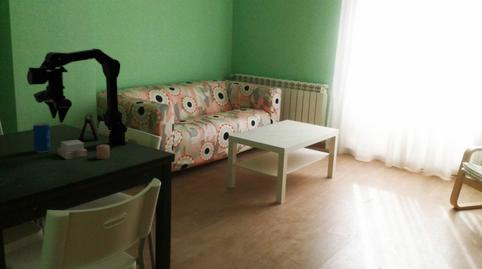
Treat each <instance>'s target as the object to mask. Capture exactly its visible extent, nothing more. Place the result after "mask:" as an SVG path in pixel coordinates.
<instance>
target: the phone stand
mask: <svg viewBox="0 0 482 269" xmlns="http://www.w3.org/2000/svg"><path fill="white" fill-rule="evenodd" d="M88 117H89V118H88ZM88 124H89V126H90V129H91V132H92V136H85V133H86V131H87V126H88ZM99 139H100V135H99V133H98V130H97V128H96V125H95V123H94V121H93V114H92V113H90V114H89V113H86V115H85V116H84V124H83V127H82V130H81V132H80V135H79V137H78V140H79V141H81V142H82V141H86V142H88V141H89V142H91V141H94V142H95V141H99Z"/></svg>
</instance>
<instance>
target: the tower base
mask: <svg viewBox="0 0 482 269" xmlns="http://www.w3.org/2000/svg"><path fill="white" fill-rule="evenodd" d="M56 149H57V155H58V156H60V157H61V158H64V159H65V160H70V159H77V158H83V157H88V150H87V149H86V148H84V150H80V151H73V152H66V151H65V150H63V149H61V147H58V148H56Z"/></svg>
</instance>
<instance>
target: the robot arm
mask: <svg viewBox="0 0 482 269" xmlns="http://www.w3.org/2000/svg"><path fill="white" fill-rule="evenodd" d="M44 56H45V57H44V60H43V61H42V63H41V64H40V66H39V67H32V66H30V67H28V71H27V74H26V80H27V81H26V82H27V83H28V84H29V85H30V86H33V85H37V86H38V85H46V83H47V85H46V86H45V89H44V90H41V91H38V92H36V93H34V94H32V95H33V97H34V100H35V102H37V103H39V104H41V103H44V104H45V105H47V106H48V109H49V113H50V115H51V118H52V119H56V117H57V116H58V119H59V123H60V124H61V123H64V121H65V118H66V116H67V114H68V112H69V110H70V109H71V107H72V106H73V105H72V104H73V103H72V101H71V100H70V99H68V98H66V95H64V90H65V89H66V86H65V85H64V76H63V75H64V74H63V73H68V72H69V71H68V70H67V69H66V68H65V66H66V65H68V64H71V63H75V62H81V61H86V60H87V61H88V60H95V61H96V62H97V63H98V64H99V65H100V66H101V69H102V73H103V75H104V77H105V82H106V83H105V84H106V85H105V86H106V107H107V108H106V109H107V110H106V111H105V112H104V113H102V118H103V119H102V122H103V123H104V126H106V127H107V130H108V131H109V134H108V142H107V144H108V145H109V144H110V145H111V146H113V147H116V146H123V145H124V144H125V145H127V142H126V133H127V131H128V127H127V126H126V125H125V124H124V123H123V118H122V115H121V113H120V110H119V99H118V98H119V97H118V77H119V75H120V72H121V62H120V61H119V60H118V59H115V58H113V57H111V56H110V55H108V54H107V53H105V52H104V51H103V50H102V49H101V48H91V49H84V50H79V51H70V52H60V51H49V52H47V53H46V55H44Z"/></svg>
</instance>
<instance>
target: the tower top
mask: <svg viewBox="0 0 482 269" xmlns="http://www.w3.org/2000/svg"><path fill="white" fill-rule="evenodd" d="M84 144H85V143H84V142H82V141H79V139H70V140H63V141H60V148H61V149H63V150H65V151H66V152H73V151H80V150H84V149H85V145H84Z"/></svg>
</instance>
